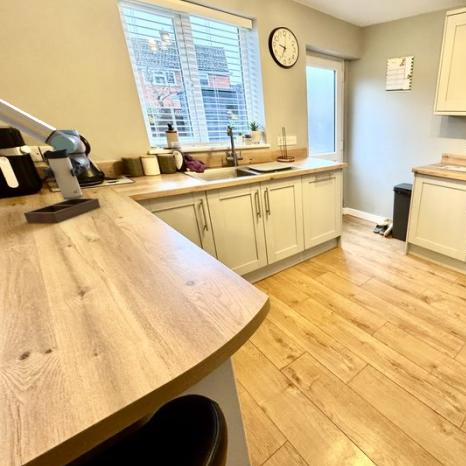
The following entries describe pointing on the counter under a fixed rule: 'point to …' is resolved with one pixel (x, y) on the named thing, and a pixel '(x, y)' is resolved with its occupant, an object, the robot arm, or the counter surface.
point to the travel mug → (64, 174)
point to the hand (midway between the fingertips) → (60, 174)
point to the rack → (62, 210)
